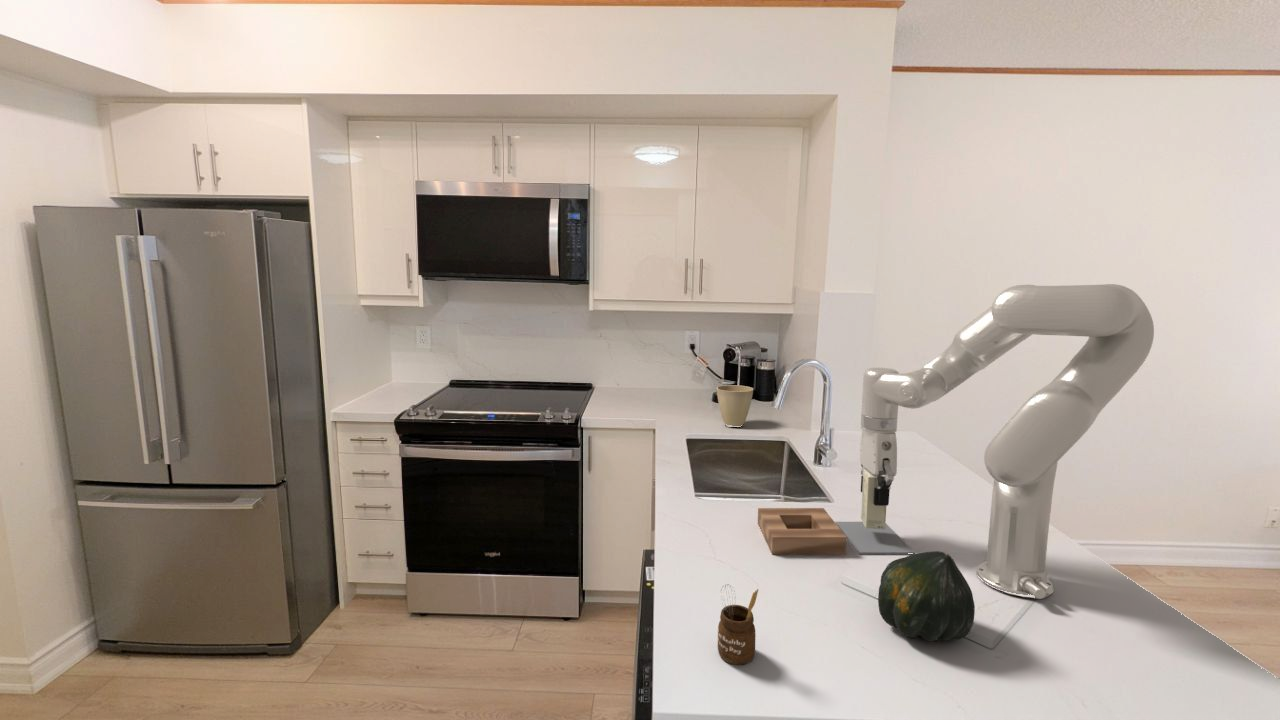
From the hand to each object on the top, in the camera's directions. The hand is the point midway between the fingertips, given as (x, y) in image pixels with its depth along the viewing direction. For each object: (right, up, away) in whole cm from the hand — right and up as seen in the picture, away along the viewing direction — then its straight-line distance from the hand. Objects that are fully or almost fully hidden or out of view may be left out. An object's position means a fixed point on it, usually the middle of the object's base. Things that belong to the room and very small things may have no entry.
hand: (874, 498), depth 130 cm
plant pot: (-15, +4, +104) cm, 105 cm away
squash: (-5, -15, -33) cm, 36 cm away
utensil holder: (-38, -16, -39) cm, 57 cm away
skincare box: (0, -6, +1) cm, 6 cm away
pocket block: (-17, -10, +1) cm, 20 cm away
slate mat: (0, -10, +1) cm, 10 cm away
